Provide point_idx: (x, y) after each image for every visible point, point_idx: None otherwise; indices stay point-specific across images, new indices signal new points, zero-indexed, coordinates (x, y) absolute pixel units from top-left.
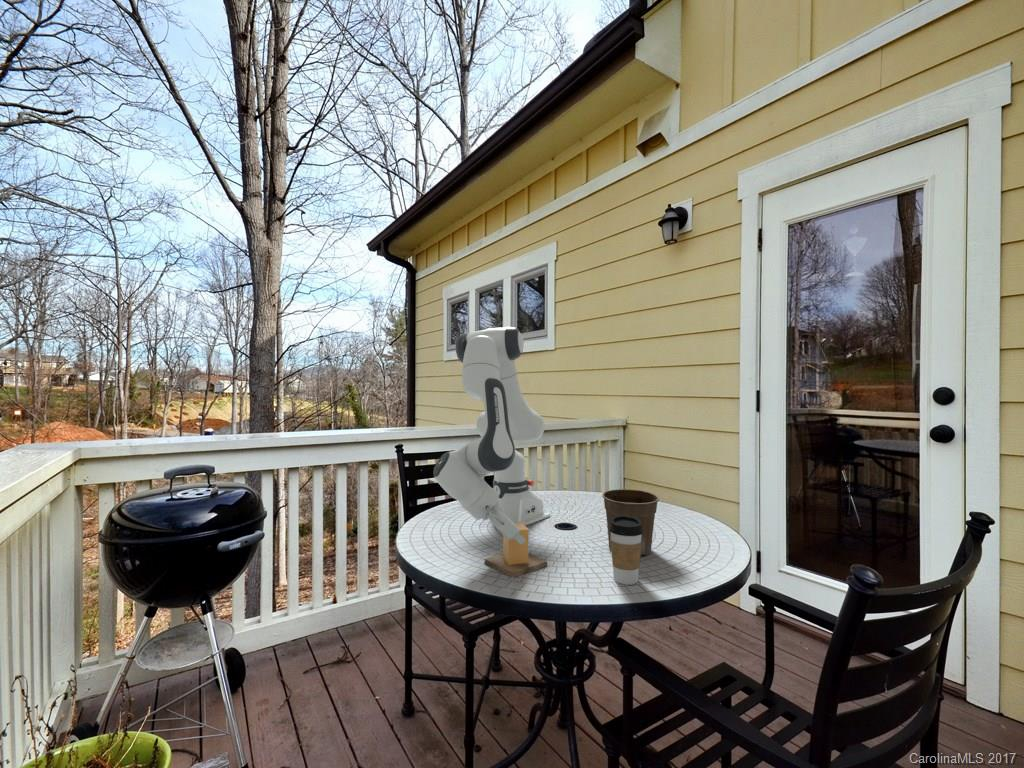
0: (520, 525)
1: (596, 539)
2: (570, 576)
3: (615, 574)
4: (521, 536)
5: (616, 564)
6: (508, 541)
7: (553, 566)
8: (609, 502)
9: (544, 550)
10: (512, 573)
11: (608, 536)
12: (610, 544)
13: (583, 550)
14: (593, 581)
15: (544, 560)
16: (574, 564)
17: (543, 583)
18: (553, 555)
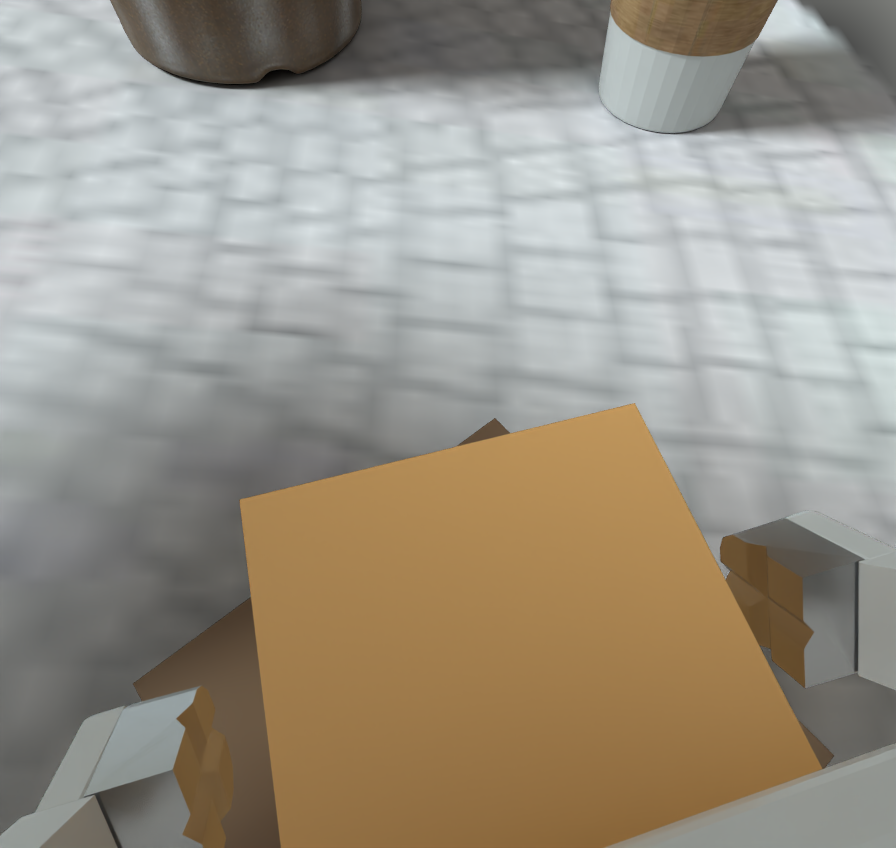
0: (403, 544)
1: (23, 114)
2: (667, 311)
3: (710, 94)
4: (888, 555)
5: (752, 26)
6: None
7: (500, 394)
8: None
9: (140, 433)
10: (827, 760)
11: (199, 2)
12: (246, 44)
13: (207, 197)
14: (714, 213)
15: (478, 436)
16: (458, 269)
17: (840, 486)
18: (271, 376)
